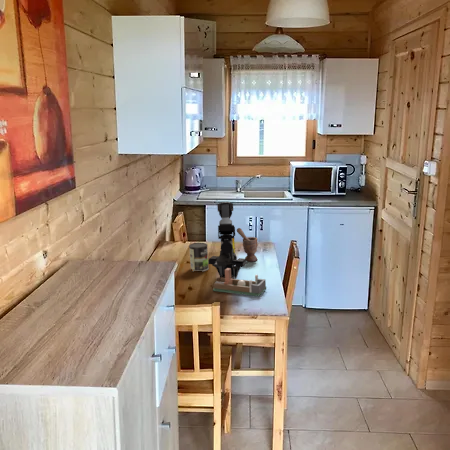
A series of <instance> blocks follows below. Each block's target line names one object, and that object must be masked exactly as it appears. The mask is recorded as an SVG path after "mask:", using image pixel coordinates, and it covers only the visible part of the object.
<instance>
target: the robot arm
mask: <svg viewBox="0 0 450 450" xmlns="http://www.w3.org/2000/svg"><path fill="white" fill-rule="evenodd" d="M217 212H218V215H219V217H220V218H221V219H220V220H219V225H217V231H218V232H217V238H218V240H220V250H219V255H218V256H217V255H213V256H211V257H208V265H212V267H214V268H215V269H216V270H217V273H218V275H219V277H220V278H225V269H227V268H231V278H233V277H234V279H237V277H238V275H239V272H240V269H241V268H244V267H245V266H247V264H248V262H247V260H246V259H245V258H243V257H237V255H236V253H235V254H234V249H233V244H232V238H234V239H235V236H236V226H235V225H234V224H233V220H232V219H231V217H232V216H233V212H234V203H233V202H230V201H221V202H219V203H217Z"/></svg>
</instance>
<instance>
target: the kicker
mask: <svg viewBox="0 0 450 450" xmlns="http://www.w3.org/2000/svg"><path fill="white" fill-rule="evenodd" d="M224 278H225V282H221V281H218V280H217V281H215V282H214V283H220V284H229V285H233V279H234V278H232V277H231V268H227V269H225V277H224Z"/></svg>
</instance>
